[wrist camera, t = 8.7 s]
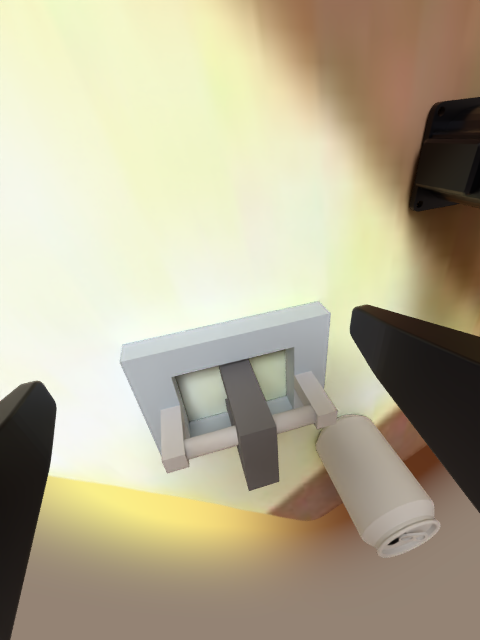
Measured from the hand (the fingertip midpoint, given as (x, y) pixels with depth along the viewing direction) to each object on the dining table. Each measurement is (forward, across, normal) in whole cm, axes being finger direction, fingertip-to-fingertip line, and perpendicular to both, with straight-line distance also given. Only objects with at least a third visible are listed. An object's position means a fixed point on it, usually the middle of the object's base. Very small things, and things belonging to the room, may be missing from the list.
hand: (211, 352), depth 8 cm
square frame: (+12, -2, +14) cm, 19 cm away
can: (+13, -14, +27) cm, 33 cm away
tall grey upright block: (+12, -2, +14) cm, 19 cm away
